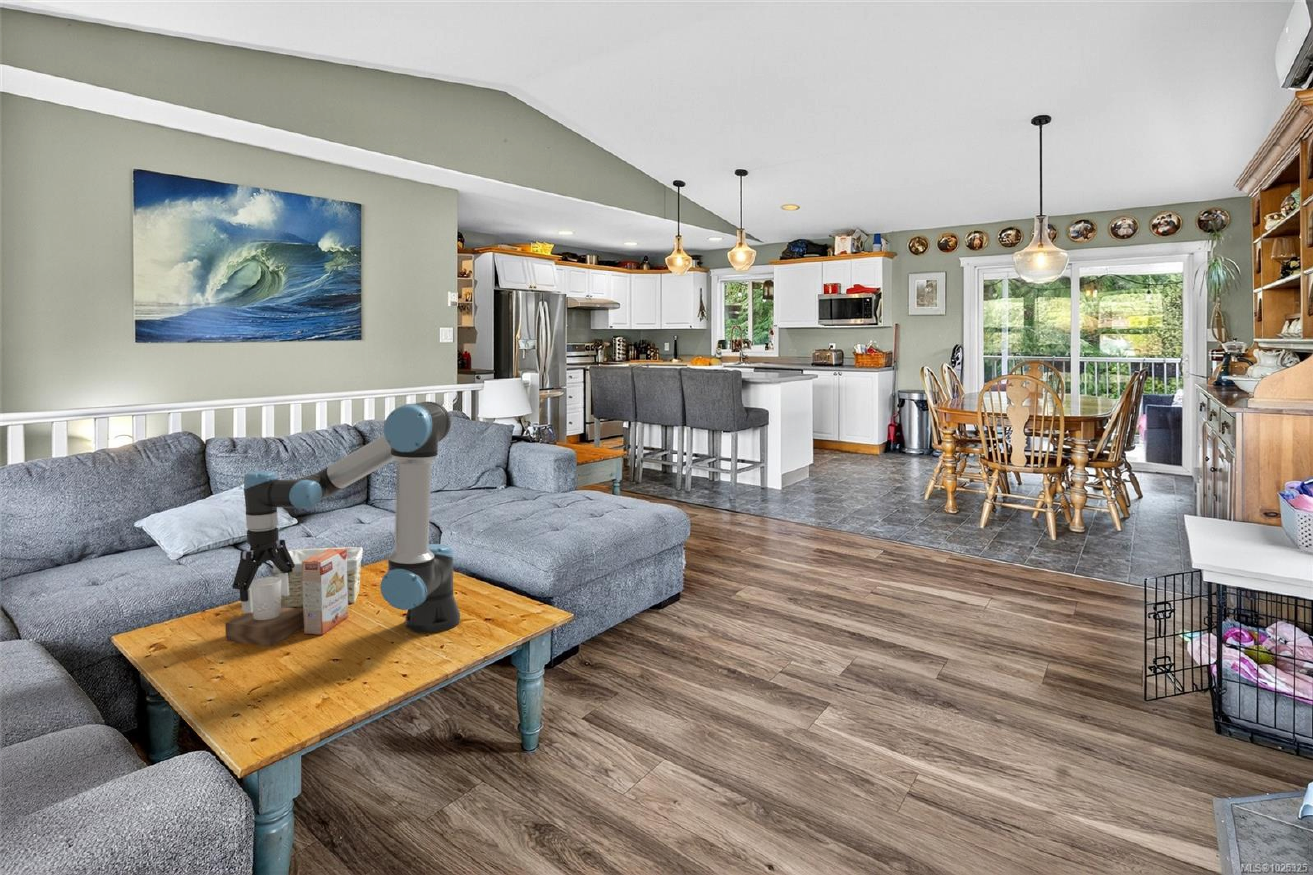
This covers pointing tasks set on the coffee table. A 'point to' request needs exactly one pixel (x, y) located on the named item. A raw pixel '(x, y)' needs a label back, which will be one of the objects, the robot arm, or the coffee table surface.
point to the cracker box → (324, 590)
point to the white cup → (266, 598)
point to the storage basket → (296, 575)
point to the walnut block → (265, 627)
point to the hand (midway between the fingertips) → (266, 603)
